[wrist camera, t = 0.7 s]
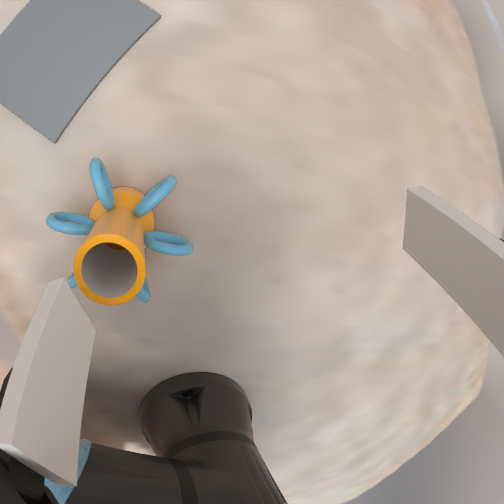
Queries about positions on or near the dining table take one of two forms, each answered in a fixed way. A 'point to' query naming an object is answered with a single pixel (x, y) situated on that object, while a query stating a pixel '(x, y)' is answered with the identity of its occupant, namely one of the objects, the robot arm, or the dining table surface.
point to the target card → (64, 56)
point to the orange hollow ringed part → (117, 239)
